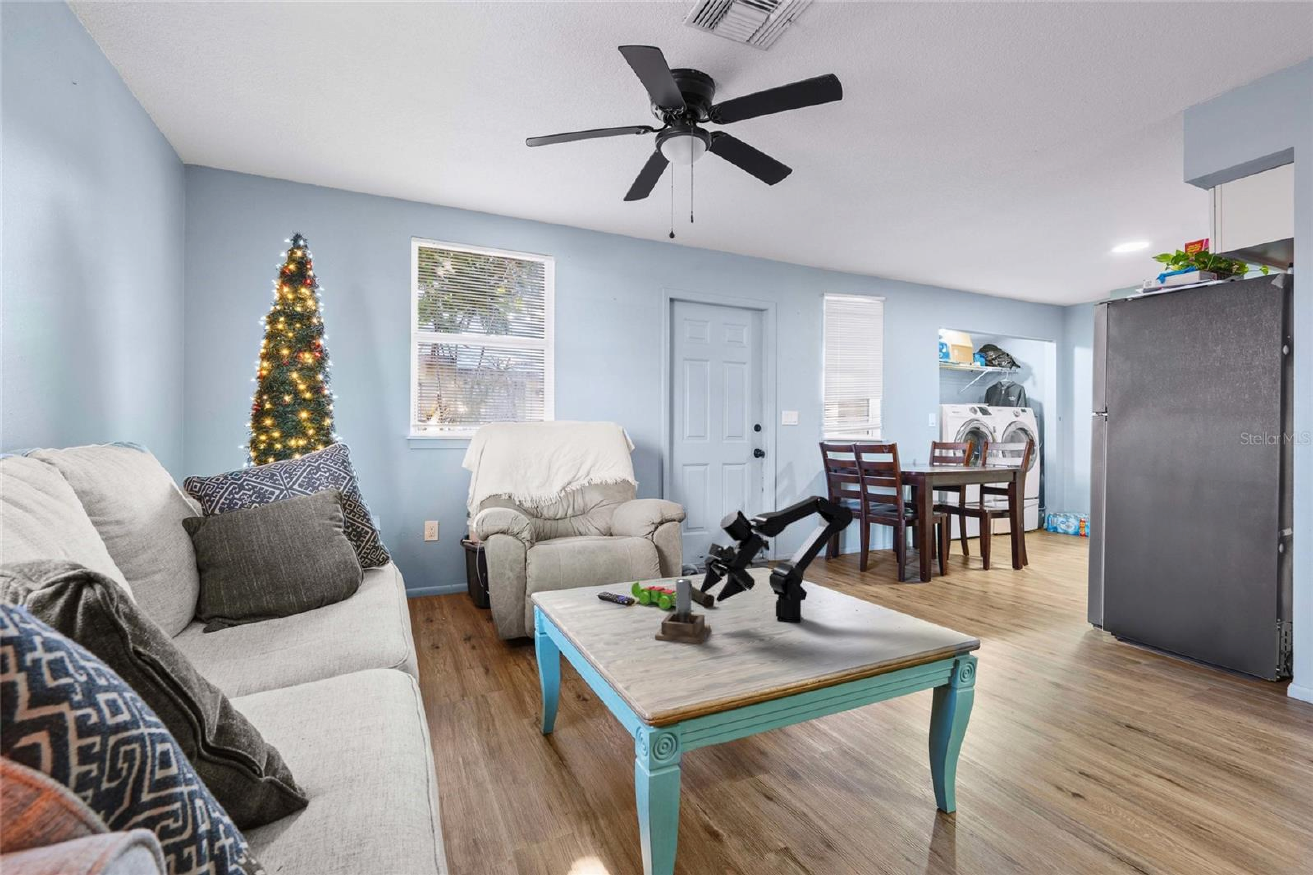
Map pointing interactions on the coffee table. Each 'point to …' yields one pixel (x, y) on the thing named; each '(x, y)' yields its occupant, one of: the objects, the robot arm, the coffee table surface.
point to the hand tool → (702, 597)
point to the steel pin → (683, 601)
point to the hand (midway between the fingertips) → (709, 596)
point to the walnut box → (683, 629)
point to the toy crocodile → (654, 595)
